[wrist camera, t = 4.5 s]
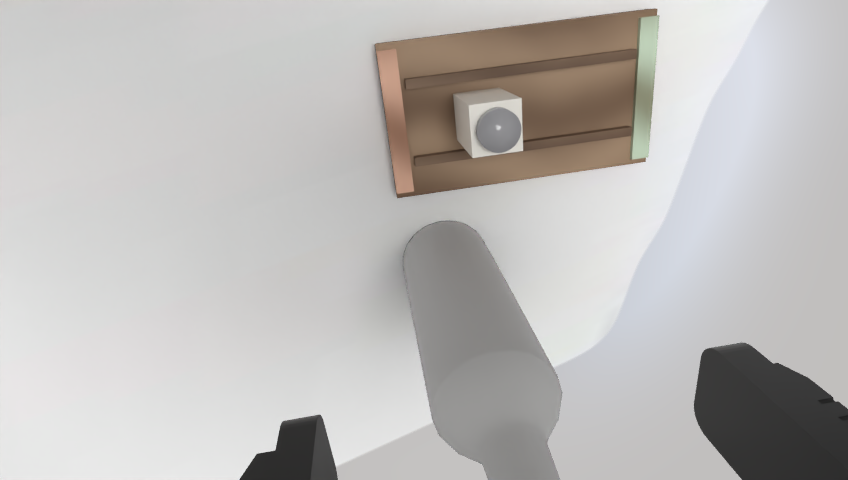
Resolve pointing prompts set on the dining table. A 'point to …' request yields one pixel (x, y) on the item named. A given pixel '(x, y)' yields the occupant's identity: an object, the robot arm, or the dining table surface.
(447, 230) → the bottle
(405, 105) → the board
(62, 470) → the dining table surface
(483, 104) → the slider knob
